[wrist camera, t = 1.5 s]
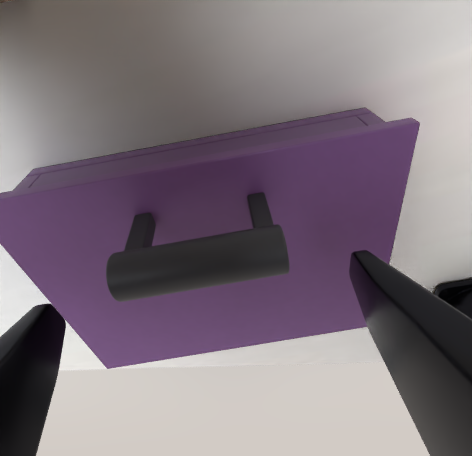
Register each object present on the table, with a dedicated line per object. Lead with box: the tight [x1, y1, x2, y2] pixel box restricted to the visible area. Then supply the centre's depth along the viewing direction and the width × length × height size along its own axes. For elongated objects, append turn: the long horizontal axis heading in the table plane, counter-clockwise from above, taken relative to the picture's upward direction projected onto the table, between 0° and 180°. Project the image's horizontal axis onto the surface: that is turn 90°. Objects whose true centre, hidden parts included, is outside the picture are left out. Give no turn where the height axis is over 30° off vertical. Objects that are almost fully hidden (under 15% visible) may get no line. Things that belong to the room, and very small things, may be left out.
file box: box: [13, 108, 385, 191], centre depth 17 cm, size 12×17×4 cm
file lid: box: [0, 118, 420, 369], centre depth 14 cm, size 12×17×4 cm
